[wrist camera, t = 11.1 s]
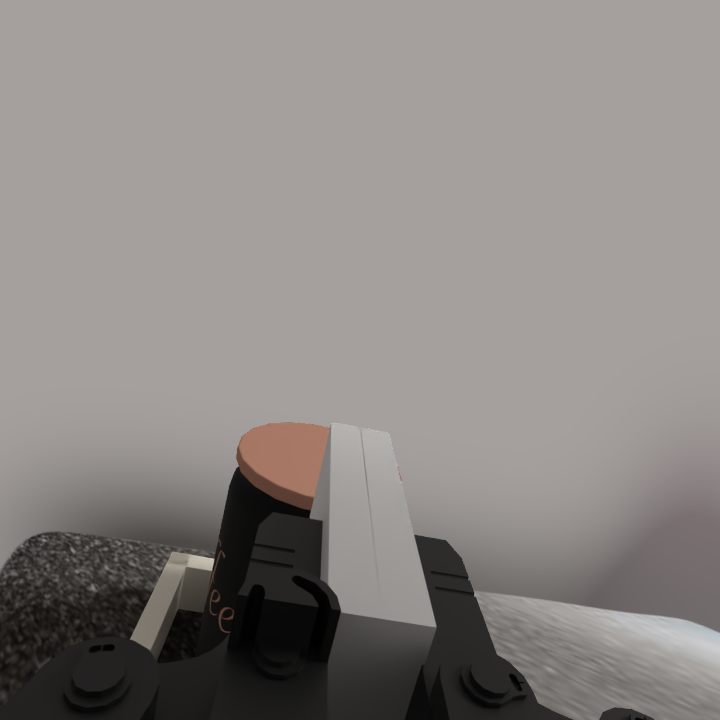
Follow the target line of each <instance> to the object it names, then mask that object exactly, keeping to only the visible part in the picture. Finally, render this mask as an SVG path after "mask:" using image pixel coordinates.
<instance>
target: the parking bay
mask: <svg viewBox="0 0 720 720" xmlns="http://www.w3.org/2000/svg"><path fill="white" fill-rule="evenodd" d="M213 564H214V559H211V558H206V557H200V556H195V555H189V554H183V553H178V552H172V553H171V556H170V558H169V560H168V562H167V564H166V566H165V568H164V570H163V572H162V574H161V576H160V578H159V580H158V582H157V584H156V587H155V589H154V591H153V593H152V595H151V597H150V599H149V601H148V603H147V605H146V607H145V609H144V611H143V613H142V615H141V618H140V620H139V622H138V624H137V626H136V628H135V630H134V632H133V634H132V636H131V638H130V640H134V641H136V642H137V643H139V644H141V645H142V646H144V647H146V648H147V649H149V650H150V651H151V653H152V655H153V656H154V658H155V659H156V661H157V660H158V658H159V655H160V653H161V650H162V648H163V645H164V643H165V640H166V638H167V635H168V633H169V630H170V628H171V625H172V623H173V620H174V618H175V615H176V613H177V610H178V609H182V610H188V611H194V612H200V613H203V612H204V608H205V603H206V598H207V593H208V588H209V583H210V578H211V573H212V568H213Z"/></svg>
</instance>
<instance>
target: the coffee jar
mask: <svg viewBox="0 0 720 720" xmlns="http://www.w3.org/2000/svg"><path fill="white" fill-rule="evenodd" d="M329 430H330V428H328V427H323V426H318V425H313V424H304V423H292V422H287V423H272V424H267V425H263V426H259V427H256V428H253V429H252V430H250V431H249V432H247V433H246V434H244V435H243V436H242V438H241V440H240V443H239V445H238V448H237V457H236V458H237V461H238V465H239V467H237V468H236V470H235V472H234V475H233V478H232V480H231V483H230V486H229V490H228V495H227V500H226V505H225V510H224V515H223V520H222V524H221V529H220V535H219V539H218V544H217V549H216V554H215V559H214V564H213V568H212V573H211V578H210V583H209V588H208V593H207V598H206V603H205V608H204V612H203V617H202V622H201V627H200V632H199V637H198V642H197V647H196V652H195V657H198V656H200V655H202V654H204V653H207V652H209V651H211V650H213V649H214V648H215V647H217V646H218V645H219V644H221V643H222V642H223V641H224V640H225V638H226V637H227V636H228V635H229V634H230V630H231V625H232V620H233V615H234V610H235V605H236V600H237V594H238V593H239V591H240V589H241V587H242V586H243V584H244V582H245V580H246V575H247V571H248V567H249V563H250V559H251V555H252V551H253V547H254V543H255V539H256V535H257V531H258V527H259V525H260V524H261V523H262V522H263V521H264V520H265V519H266V518H267V517H268V516H269V515H270V514H272V513H273V512H275V513H281V514H287V515H292V516H298V517H304V518H310V513H311V509H312V504H313V500H314V496H315V491H316V487H317V482H318V478H319V474H320V469H321V465H322V460H323V456H324V452H325V447H326V443H327V438H328V434H329ZM397 467H398V466H397ZM398 472H399V469H398ZM399 476H400V473H399ZM400 480H401V476H400Z"/></svg>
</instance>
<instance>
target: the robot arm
mask: <svg viewBox="0 0 720 720" xmlns="http://www.w3.org/2000/svg"><path fill="white" fill-rule="evenodd" d="M0 720H572V719H570V718H568V717H565V716H563V715H561V714H558V713H556V712H554V711H552V710H550V709H548V708H546V707H544V706H542V705H540V704H539V703H538V702H537V700H536V697H535V695H534V693H533V691H532V689H531V687H530V686H529V684H528V683H527V681H526V679H525V678H524V676H523V675H522V674H521V673H520V672H519V671H518V670H517V669H516V668H515V667H514V666H513V665H512V664H511V663H510V662H508V661H506V660H505V659H503V658H501V657H500V656H498V655H497V654H496V651H495V648H494V645H493V643H492V640H491V637H490V634H489V632H488V629H487V626H486V624H485V621H484V618H483V615H482V613H481V610H480V607H479V604H478V602H477V599H476V597H474V591H473V588H472V585H471V583H470V581H468V574H467V572H466V569H465V566H464V564H463V561H462V558H461V557H460V556H459V555H458V554H457V552H456V551H454V549H453V548H452V547H451V546H450V545H449V543H448V542H447V541H446V540H441V539H435V538H429V537H424V536H417V535H414V533H413V529H412V525H411V521H410V516H409V512H408V509H407V504H406V501H405V496H404V492H403V488H402V484H401V480H400V476H399V472H398V467H397V464H396V459H395V456H394V451H393V447H392V443H391V439H390V435H389V433H387V432H382V431H377V430H372V429H367V428H361V427H356V426H351V425H346V424H341V423H335V422H331V425H330V430H329V434H328V438H327V443H326V447H325V452H324V456H323V460H322V465H321V469H320V474H319V478H318V482H317V487H316V491H315V496H314V500H313V504H312V509H311V513H310V518H304V517H298V516H292V515H287V514H281V513H275V512H273V513H272V514H270V515H269V516H268V517H267V518H266V519H265V520H264V521H263V522H262V523H261V524H260V525H259V527H258V531H257V535H256V539H255V543H254V547H253V551H252V555H251V559H250V563H249V567H248V571H247V575H246V580H245V582H244V584H243V586H242V587H241V589H240V591H239V593H238V594H237V600H236V605H235V610H234V615H233V620H232V625H231V630H230V634H229V635H228V636H227V637H226V638H225V640H224V641H223V642H222V643H221V644H219V645H218V646H217V647H215V648H214V649H213V650H211V651H209V652H207V653H204V654H202V655H200V656H198V657H194V658H190V659H186V660H182V661H175V662H167V663H160V664H158V662H157V661H156V659H155V658H154V656H153V655H152V653H151V651H150V650H149V649H147V648H146V647H144V646H142V645H141V644H139V643H137V642H136V641H134V640H130V639H125V638H119V637H114V636H111V637H102V638H94V639H88V640H86V641H83V642H81V643H78V644H75V645H73V646H70V647H68V648H66V649H65V650H63V651H62V652H61V653H59V654H58V655H57V656H55V657H54V658H53V659H51V660H50V661H49V662H47V663H46V664H45V665H44V666H43V667H42V668H41V669H40V670H39V671H38V672H37V673H36V674H35V675H34V676H33V677H32V678H31V679H30V680H29V681H28V682H27V683H26V684H25V685H24V686H23V687H22V688H21V689H20V690H19V691H18V692H17V693H16V694H15V695H14V696H13V697H12V698H11V699H10V700H9V701H8V702H7V703H6V705H5V706H4V707H3V708H2V709H1V710H0ZM599 720H654V719H653V718H651V717H649V716H647V715H644V714H642V713H639V712H637V711H635V710H632V709H624V708H612V709H610V710H607V711H605V712H603V713H602V715H601V717H600V719H599Z"/></svg>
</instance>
